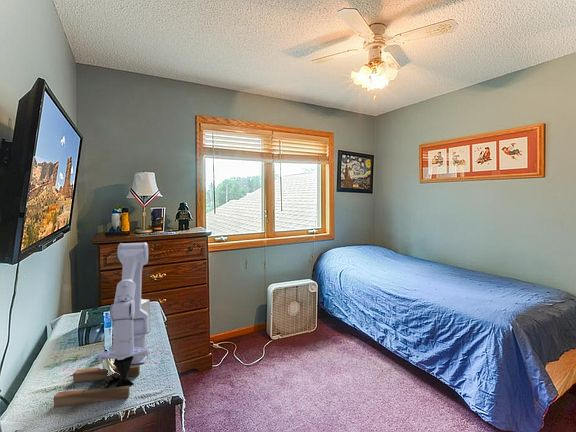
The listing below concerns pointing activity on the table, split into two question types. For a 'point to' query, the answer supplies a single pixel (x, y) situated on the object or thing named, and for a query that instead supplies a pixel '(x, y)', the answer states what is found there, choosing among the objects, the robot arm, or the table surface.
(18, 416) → the table surface
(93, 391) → the walled channel
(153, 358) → the table surface
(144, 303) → the skincare box
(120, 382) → the black piece
